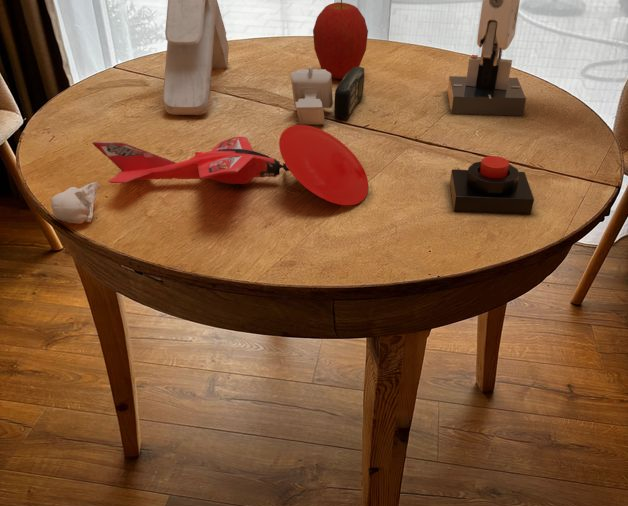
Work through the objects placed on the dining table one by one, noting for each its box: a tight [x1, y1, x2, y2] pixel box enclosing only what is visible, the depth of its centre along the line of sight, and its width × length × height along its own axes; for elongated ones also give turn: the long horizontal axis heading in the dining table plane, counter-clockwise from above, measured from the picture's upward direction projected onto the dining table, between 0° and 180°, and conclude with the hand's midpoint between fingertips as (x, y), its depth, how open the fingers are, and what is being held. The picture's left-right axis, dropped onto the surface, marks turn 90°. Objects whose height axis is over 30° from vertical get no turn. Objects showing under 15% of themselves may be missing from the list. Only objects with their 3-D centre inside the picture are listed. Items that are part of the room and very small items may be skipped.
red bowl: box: [278, 124, 369, 206], centre depth 92 cm, size 14×14×6 cm
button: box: [480, 155, 510, 179], centre depth 88 cm, size 4×4×2 cm
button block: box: [449, 160, 535, 215], centre depth 90 cm, size 10×8×4 cm
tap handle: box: [466, 54, 513, 90], centre depth 114 cm, size 7×2×5 cm, turn 71°
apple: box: [312, 0, 369, 80], centre depth 124 cm, size 10×10×14 cm
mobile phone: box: [333, 66, 365, 119], centre depth 116 cm, size 5×3×15 cm
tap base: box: [447, 75, 527, 117], centre depth 117 cm, size 12×11×3 cm
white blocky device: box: [290, 65, 334, 126], centre depth 110 cm, size 9×7×8 cm
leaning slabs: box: [161, 0, 230, 116], centre depth 120 cm, size 8×25×23 cm
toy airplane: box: [91, 136, 290, 187], centre depth 92 cm, size 27×27×5 cm
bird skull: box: [50, 181, 101, 224], centre depth 87 cm, size 6×8×4 cm
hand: (486, 85), depth 116 cm, fingers closed on tap handle, 2 cm apart
